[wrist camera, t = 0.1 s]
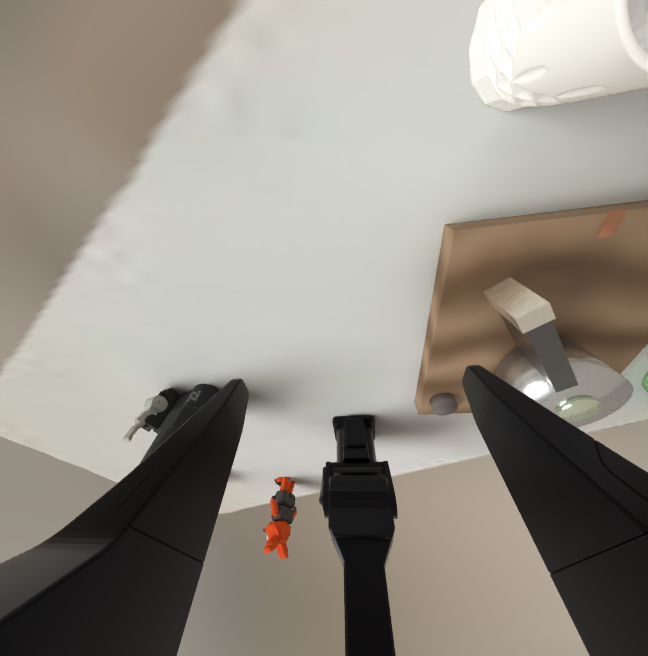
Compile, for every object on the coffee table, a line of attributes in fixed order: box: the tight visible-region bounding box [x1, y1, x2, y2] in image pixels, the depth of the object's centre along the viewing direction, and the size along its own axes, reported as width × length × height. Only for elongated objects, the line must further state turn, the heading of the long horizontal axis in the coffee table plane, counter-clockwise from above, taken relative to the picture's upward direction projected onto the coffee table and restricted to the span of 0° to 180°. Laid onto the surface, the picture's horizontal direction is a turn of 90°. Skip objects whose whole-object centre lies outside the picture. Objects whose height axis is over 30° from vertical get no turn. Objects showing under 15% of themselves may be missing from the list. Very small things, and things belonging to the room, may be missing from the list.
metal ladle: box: [484, 277, 633, 427], centre depth 20 cm, size 17×8×6 cm, turn 42°
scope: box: [123, 384, 220, 463], centre depth 28 cm, size 8×14×10 cm
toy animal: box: [263, 477, 297, 559], centre depth 46 cm, size 8×6×12 cm
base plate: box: [415, 200, 648, 415], centre depth 24 cm, size 24×21×3 cm
